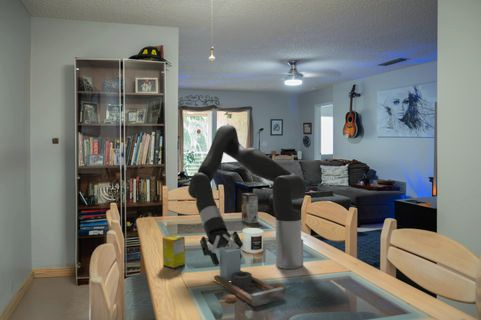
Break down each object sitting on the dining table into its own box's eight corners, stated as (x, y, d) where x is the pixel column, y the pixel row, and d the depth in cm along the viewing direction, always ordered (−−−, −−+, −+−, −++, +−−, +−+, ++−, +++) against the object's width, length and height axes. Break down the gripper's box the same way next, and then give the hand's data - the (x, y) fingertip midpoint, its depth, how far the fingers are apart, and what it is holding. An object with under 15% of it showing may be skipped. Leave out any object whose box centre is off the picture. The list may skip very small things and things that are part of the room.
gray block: (233, 275, 134) (232, 246, 134) (240, 279, 130) (240, 249, 130) (220, 278, 132) (219, 248, 131) (227, 282, 128) (226, 252, 127)
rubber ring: (245, 281, 129) (244, 270, 128) (254, 286, 123) (254, 275, 123) (228, 284, 126) (228, 273, 125) (238, 290, 120) (238, 279, 120)
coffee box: (241, 220, 229) (240, 193, 229) (251, 219, 232) (250, 192, 231) (248, 223, 221) (247, 195, 220) (258, 222, 224) (258, 194, 223)
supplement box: (174, 262, 149) (174, 234, 149) (185, 265, 146) (185, 236, 145) (162, 266, 145) (161, 237, 144) (173, 270, 141) (172, 239, 141)
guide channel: (253, 272, 137) (253, 263, 137) (297, 295, 116) (297, 285, 116) (201, 283, 127) (200, 274, 127) (239, 310, 106) (239, 299, 106)
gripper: (226, 224, 147) (243, 263, 138) (191, 230, 140) (206, 271, 131) (233, 213, 142) (250, 253, 133) (197, 218, 135) (213, 260, 126)
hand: (228, 262), depth 132 cm, fingers open, 8 cm apart
